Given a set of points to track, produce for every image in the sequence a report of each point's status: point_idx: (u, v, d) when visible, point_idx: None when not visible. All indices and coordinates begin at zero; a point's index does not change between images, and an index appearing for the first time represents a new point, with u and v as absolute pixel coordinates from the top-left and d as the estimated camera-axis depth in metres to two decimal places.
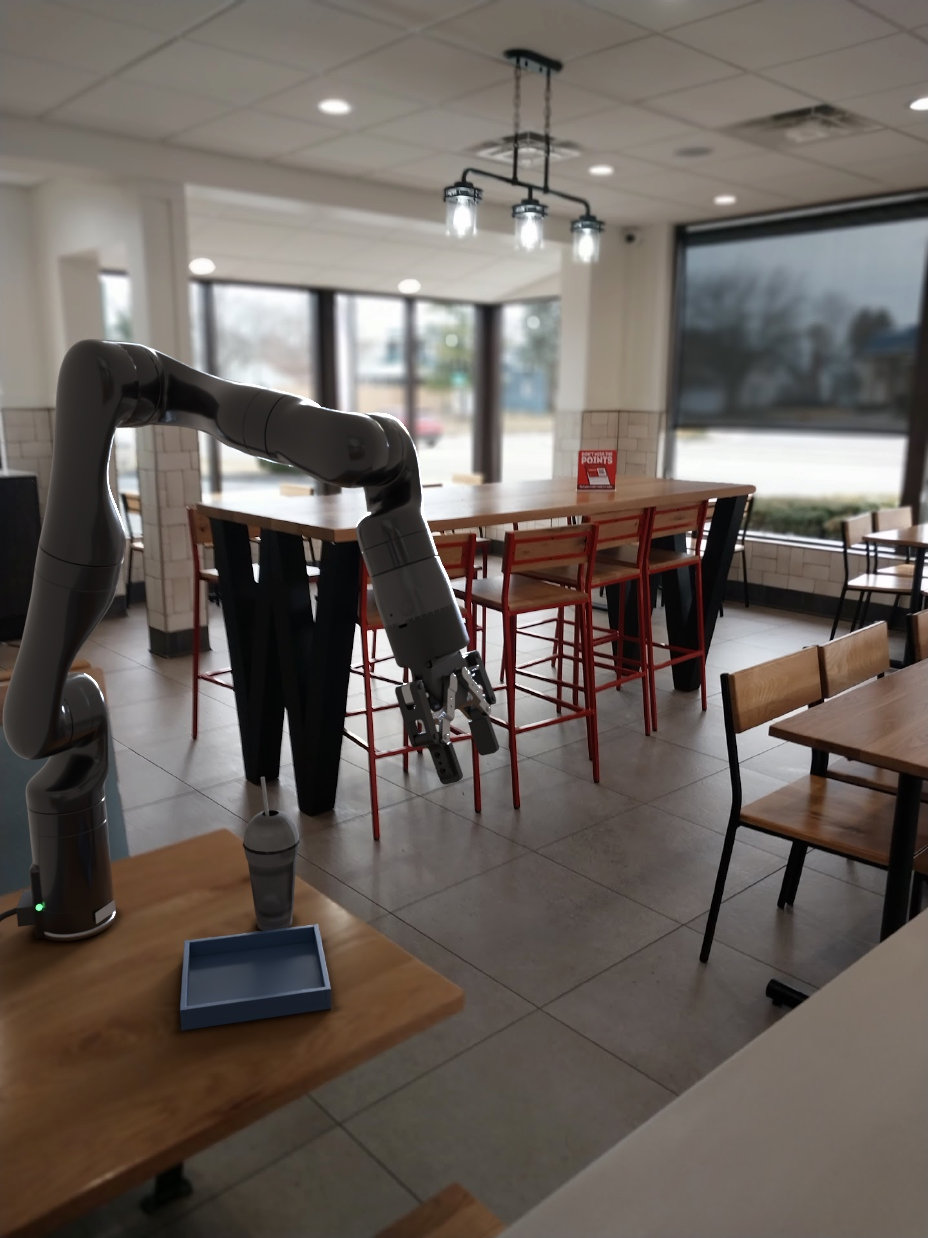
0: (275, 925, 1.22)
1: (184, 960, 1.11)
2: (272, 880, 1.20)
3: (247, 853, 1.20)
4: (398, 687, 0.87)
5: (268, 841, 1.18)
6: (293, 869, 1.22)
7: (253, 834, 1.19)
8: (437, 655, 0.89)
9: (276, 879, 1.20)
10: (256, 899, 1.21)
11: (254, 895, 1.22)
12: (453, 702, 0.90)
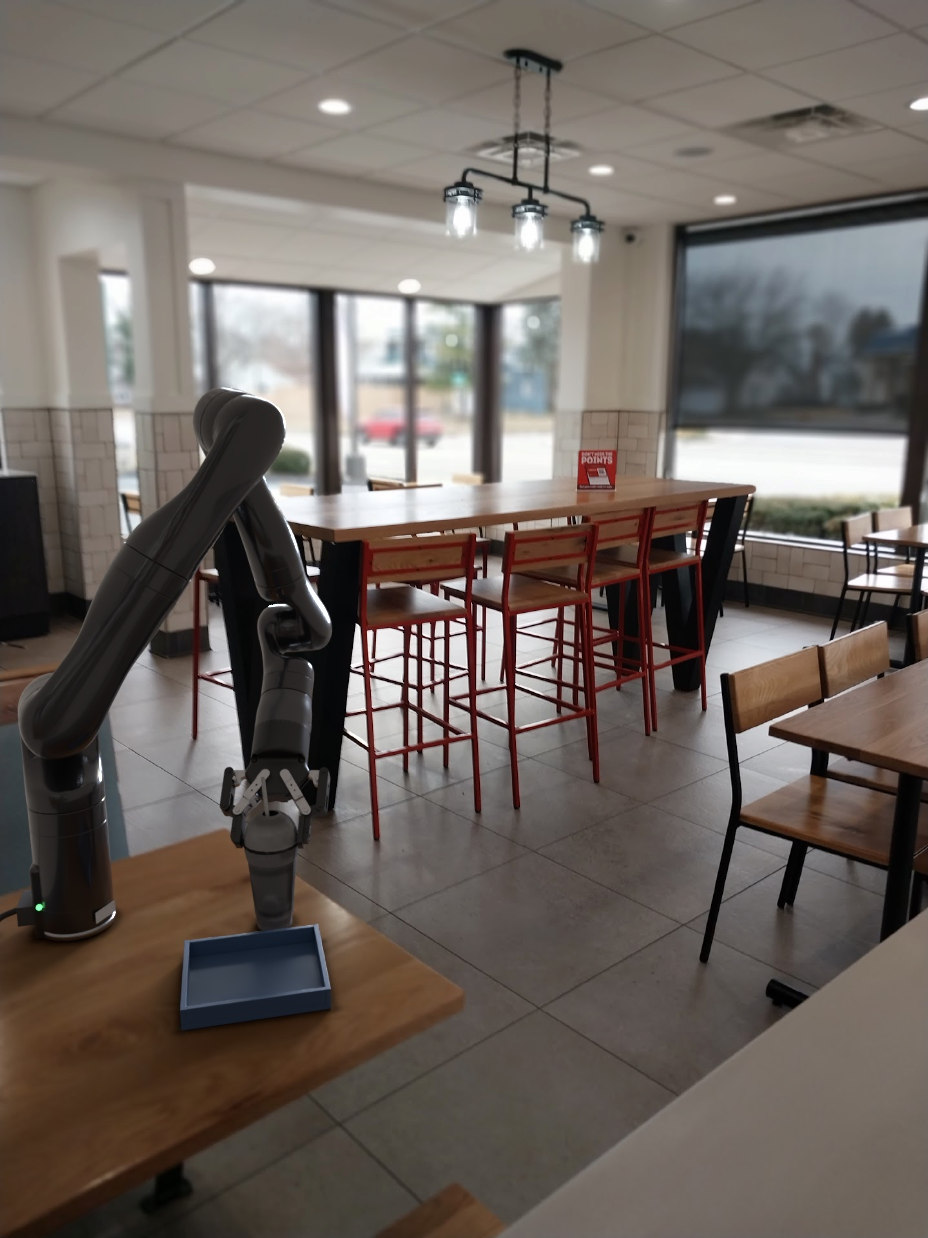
0: (275, 925, 1.22)
1: (184, 960, 1.11)
2: (272, 880, 1.20)
3: (247, 853, 1.20)
4: (326, 769, 1.25)
5: (268, 841, 1.18)
6: (293, 869, 1.22)
7: (253, 834, 1.19)
8: None
9: (276, 879, 1.20)
10: (256, 899, 1.21)
11: (254, 895, 1.22)
12: None
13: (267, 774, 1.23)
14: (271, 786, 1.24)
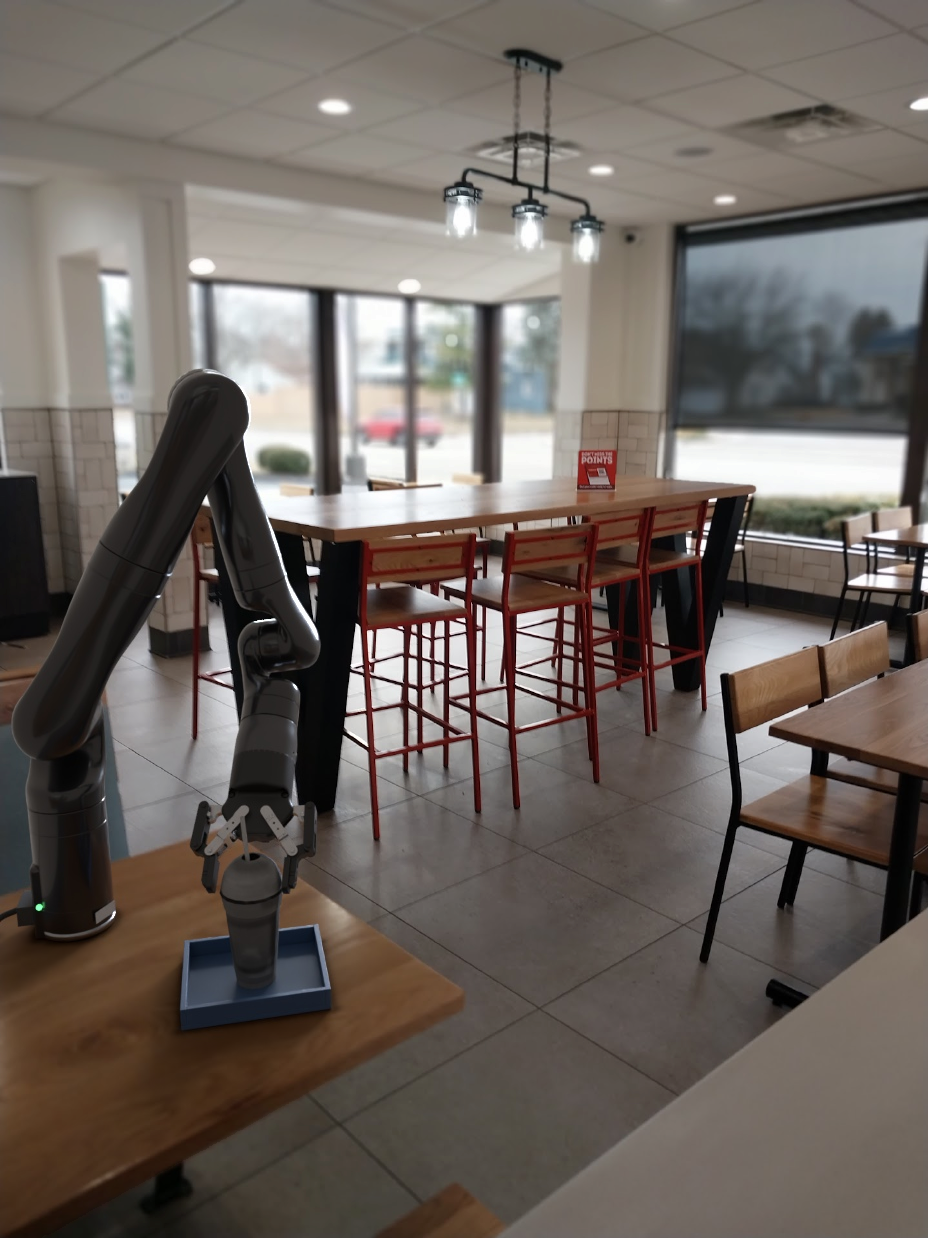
0: (256, 982, 1.09)
1: (184, 960, 1.11)
2: (252, 932, 1.07)
3: (224, 902, 1.07)
4: None
5: (247, 889, 1.05)
6: (276, 919, 1.09)
7: (230, 881, 1.06)
8: None
9: (257, 931, 1.07)
10: (235, 953, 1.08)
11: (232, 948, 1.09)
12: None
13: (246, 812, 1.10)
14: (250, 824, 1.10)
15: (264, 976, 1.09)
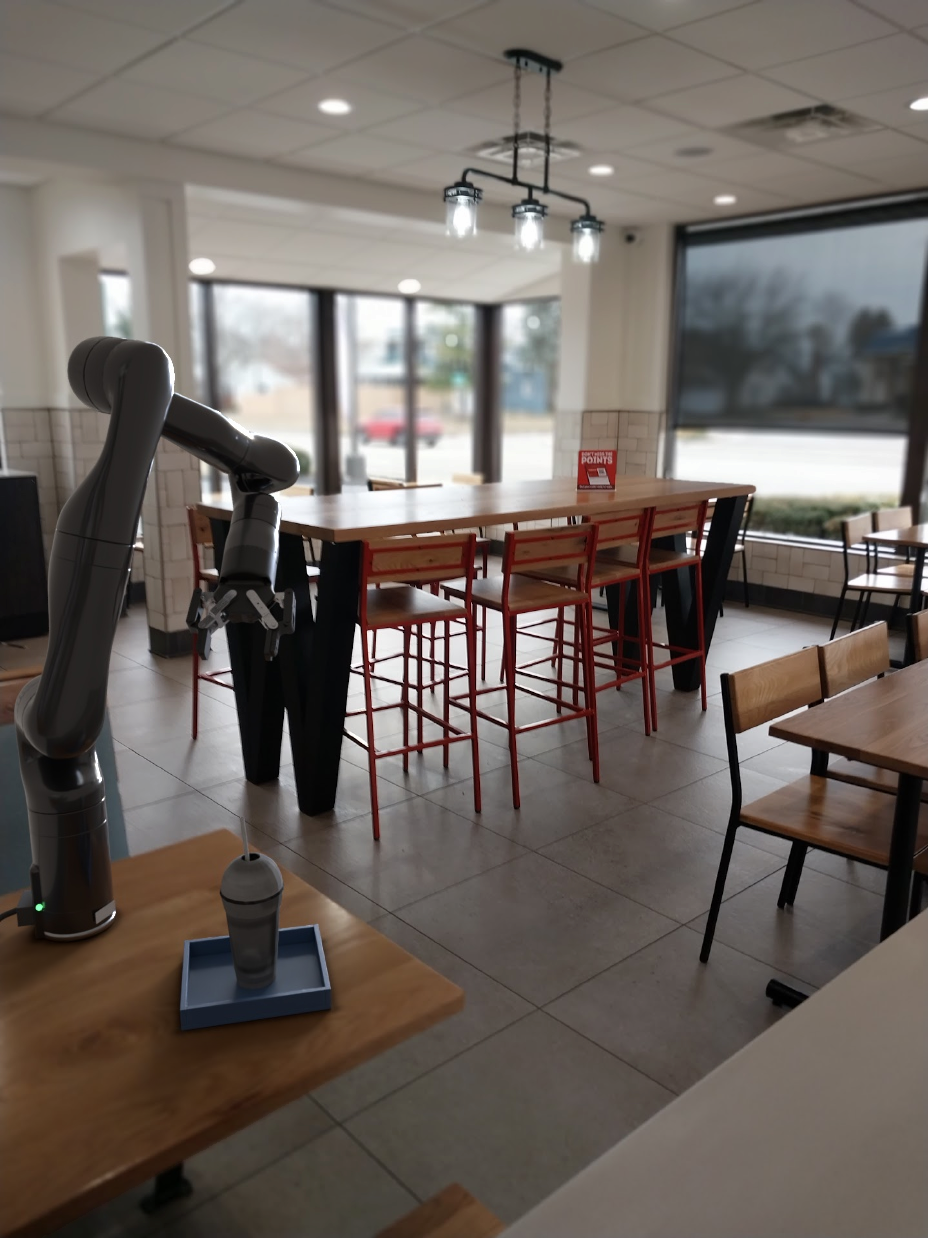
0: (256, 982, 1.09)
1: (184, 960, 1.11)
2: (252, 933, 1.07)
3: (224, 902, 1.07)
4: (291, 590, 1.30)
5: (247, 889, 1.05)
6: (276, 919, 1.09)
7: (230, 881, 1.06)
8: None
9: (257, 931, 1.07)
10: (235, 953, 1.08)
11: (232, 948, 1.09)
12: (262, 620, 1.31)
13: (234, 594, 1.28)
14: (238, 605, 1.28)
15: (264, 976, 1.09)
